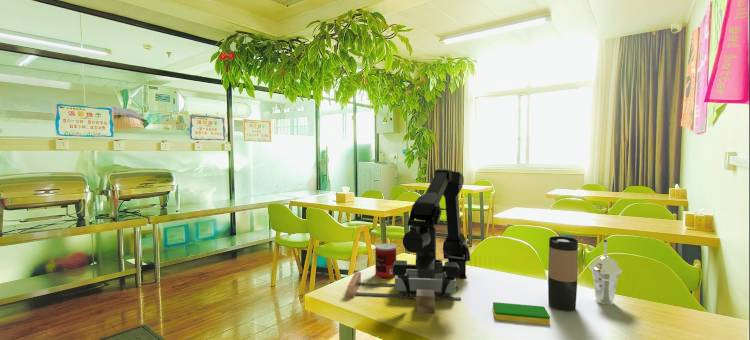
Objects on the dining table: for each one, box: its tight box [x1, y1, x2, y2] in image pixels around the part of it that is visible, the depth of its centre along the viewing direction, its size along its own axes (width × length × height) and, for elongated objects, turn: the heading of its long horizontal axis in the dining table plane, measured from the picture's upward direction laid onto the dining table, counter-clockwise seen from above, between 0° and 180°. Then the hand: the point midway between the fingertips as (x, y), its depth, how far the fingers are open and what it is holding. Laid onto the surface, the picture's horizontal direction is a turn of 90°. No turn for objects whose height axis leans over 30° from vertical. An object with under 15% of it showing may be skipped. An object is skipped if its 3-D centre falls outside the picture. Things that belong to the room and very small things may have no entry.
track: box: [347, 271, 462, 301], centre depth 118 cm, size 35×13×4 cm, turn 83°
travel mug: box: [547, 235, 579, 312], centre depth 106 cm, size 8×8×20 cm
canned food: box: [374, 243, 397, 280], centre depth 133 cm, size 8×8×11 cm
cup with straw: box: [588, 239, 623, 306], centre depth 109 cm, size 8×9×20 cm
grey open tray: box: [394, 271, 457, 297], centre depth 117 cm, size 19×12×6 cm, turn 83°
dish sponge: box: [492, 301, 551, 325], centre depth 100 cm, size 7×14×2 cm, turn 77°
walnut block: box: [416, 289, 436, 315], centre depth 104 cm, size 5×5×5 cm
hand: (425, 298), depth 104 cm, fingers open, 9 cm apart
